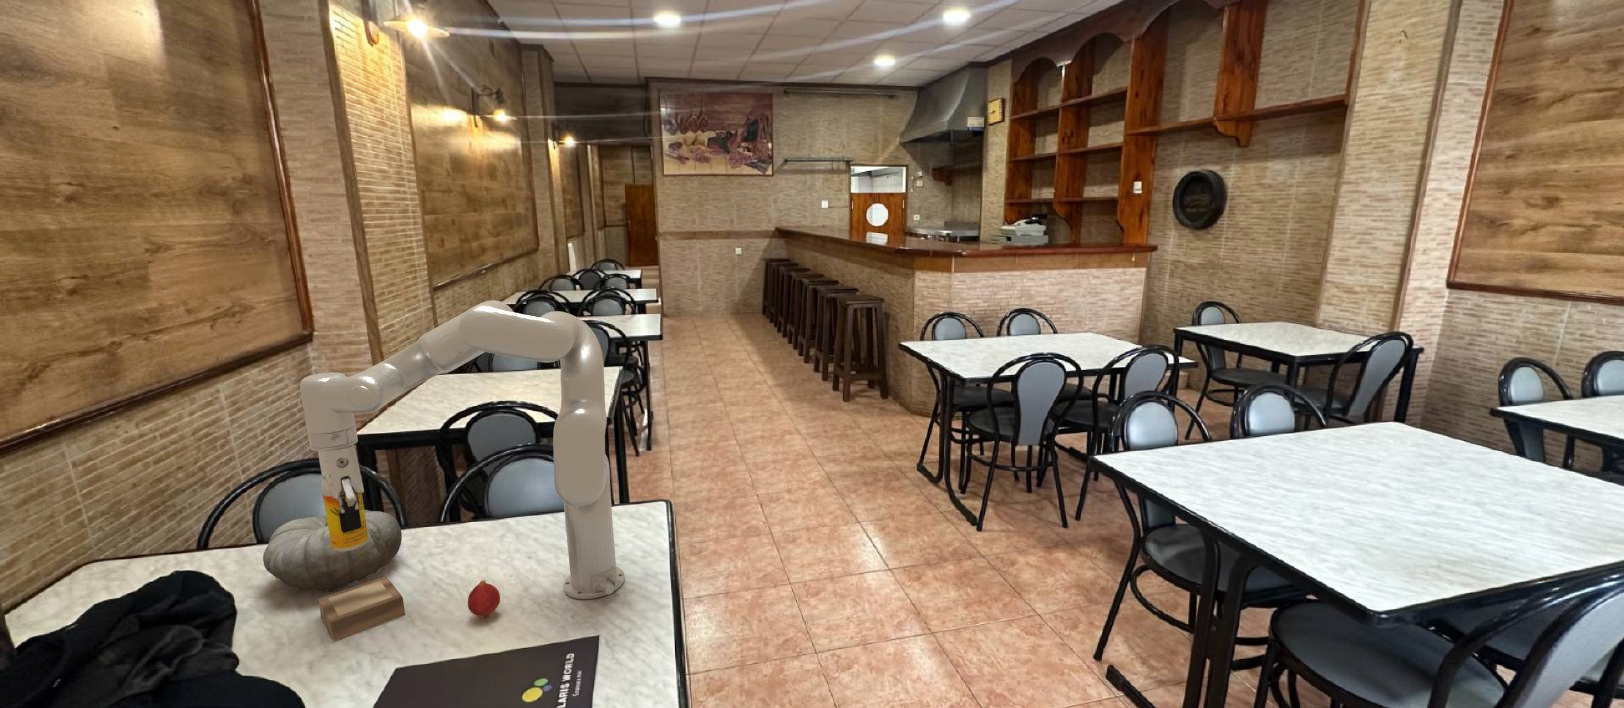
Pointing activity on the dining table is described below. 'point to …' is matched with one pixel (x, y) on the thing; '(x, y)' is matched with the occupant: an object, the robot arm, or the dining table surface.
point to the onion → (483, 599)
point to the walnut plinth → (361, 607)
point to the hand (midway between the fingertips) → (347, 523)
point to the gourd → (329, 553)
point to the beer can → (332, 509)
